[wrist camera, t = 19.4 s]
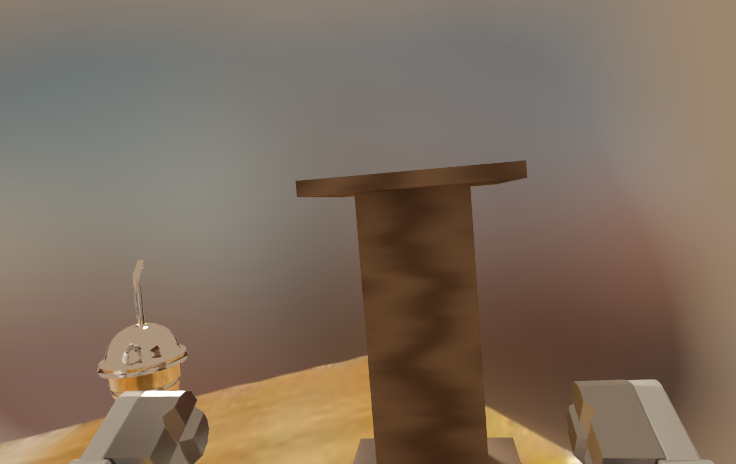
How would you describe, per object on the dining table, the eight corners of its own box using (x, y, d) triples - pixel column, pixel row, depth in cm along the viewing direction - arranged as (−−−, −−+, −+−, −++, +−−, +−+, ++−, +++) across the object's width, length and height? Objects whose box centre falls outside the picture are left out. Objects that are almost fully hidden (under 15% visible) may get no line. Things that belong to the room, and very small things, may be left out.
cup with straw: (88, 479, 46) (63, 273, 44) (143, 433, 54) (124, 260, 53) (171, 478, 44) (148, 267, 43) (214, 432, 53) (196, 255, 52)
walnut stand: (330, 573, 31) (295, 181, 30) (362, 459, 45) (340, 186, 44) (551, 581, 29) (525, 160, 28) (514, 458, 43) (496, 172, 42)
